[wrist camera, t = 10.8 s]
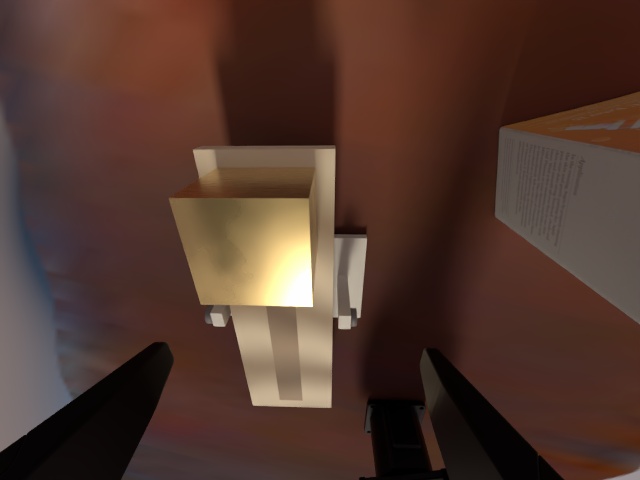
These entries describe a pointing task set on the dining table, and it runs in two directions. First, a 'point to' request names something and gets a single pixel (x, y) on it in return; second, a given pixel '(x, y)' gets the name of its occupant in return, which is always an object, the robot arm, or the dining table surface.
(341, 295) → the pivot stand
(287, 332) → the beam
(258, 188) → the wooden block
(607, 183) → the small box
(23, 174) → the dining table surface
